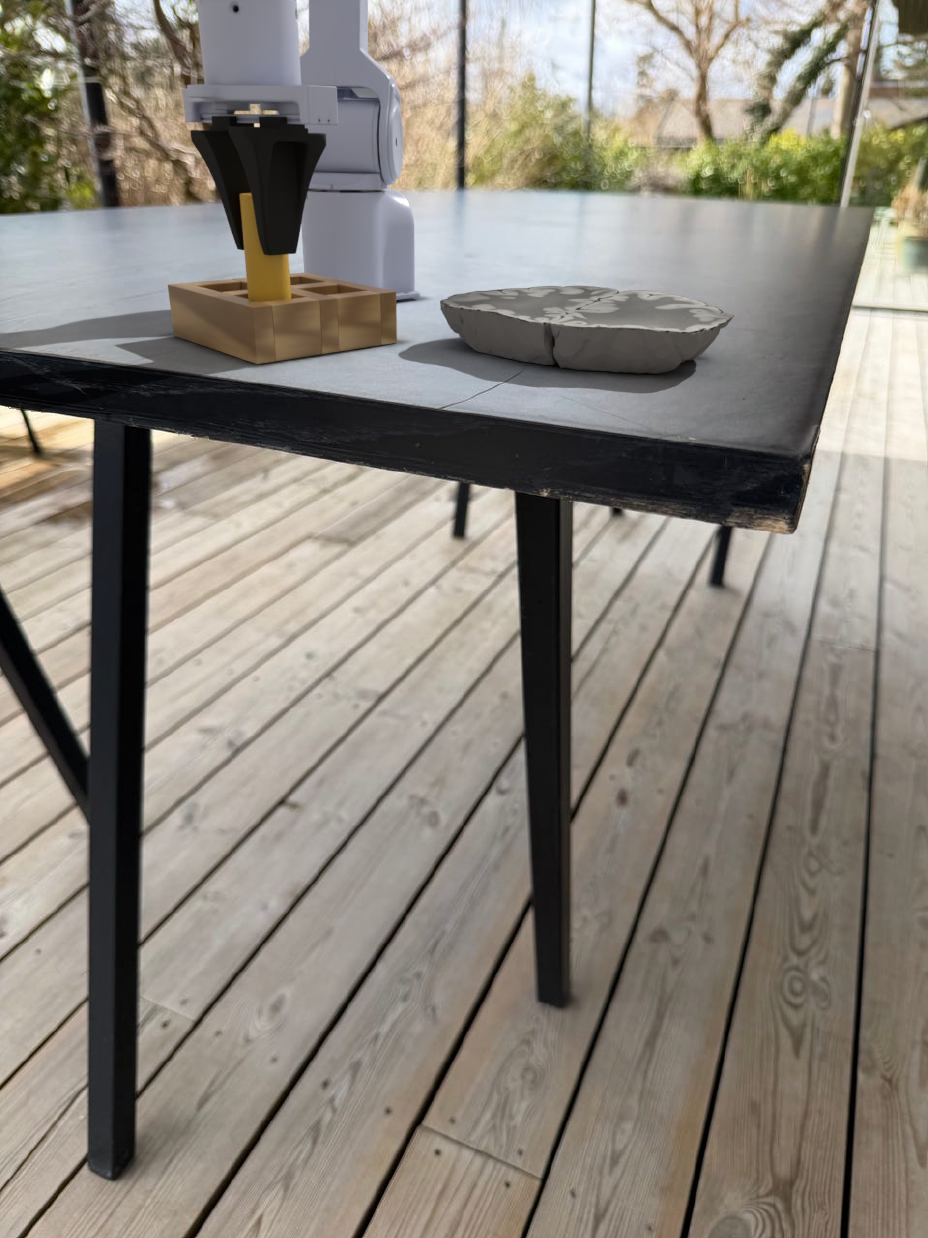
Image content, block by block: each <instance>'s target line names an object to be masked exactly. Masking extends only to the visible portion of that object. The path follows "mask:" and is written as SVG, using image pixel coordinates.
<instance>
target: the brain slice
mask: <svg viewBox="0 0 928 1238" xmlns="http://www.w3.org/2000/svg"><path fill="white" fill-rule="evenodd" d="M439 305H440V311H441V313H442V315H443V317H444V319H445V320H446V323H447V325H448V326H449V328H450V329H451V330H452V331H453V333H455V334H457V335H459V337H460V339H461V340H463V342H465V343H466V344H467V345H468V346H469V347H471V348H472V349H473V350H474V351H476V352H478V353H482V354H486V355H493V356H497V357H499V358H505V359H511V360H514V361H518V362H523V363H531V364H535V365H538V364H539V365H544V366H555V365H556V364H557V365H558V366H559V368H560V369H566V370H567V369H569V370H576V371H593V372H594V371H596V372H597V371H598V372H599V371H601V372H612V373H619V374H620V373H621V374H622V373H629V374H650V375H660V374H667V373H668V372H671V371H674V370H675V369H677V368H678V367H679V366H680V364H683V363H684V362H686V361H695V360H696V359H697V358H699V357H700V356H701V355H702V354H703V353H704V352H706V350H707V349H709V347H710V346H711V345H712V344H713V343H714V342H715V341H716V339H717V338H718V336H719V335H720V331H721V329H724V328H726V327H727V326H728V325H729V324H730V322H731V321H732V319H733V318H734V317H735V315H734V314H732V313H729V312H728V313H727V312H724V310H722V309H720V308H719V307H718V306H713V305H709V304H708V303H706V302H704V301H701V300H697V299H692V298H690V297H688V296H683V295H678V294H671V293H667V292H662V291H654V290H624V291H620V290H619V289H615V288H611V287H603V286H602V287H601V286H594V285H593V286H591V285H567V286H566V285H565V286H559V285H542V286H531V287H514V288H502V289H500V288H499V289H490V290H475V291H470V292H464V293H456V294H453V295H451V296H448V297H447V298H444V299H443V298H442V299H441V300H440V301H439Z"/></svg>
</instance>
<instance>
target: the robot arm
mask: <svg viewBox="0 0 928 1238" xmlns="http://www.w3.org/2000/svg"><path fill="white" fill-rule="evenodd" d="M195 2H196V10H197V20H198V21H197V22H198V30H199V31H198V32H199V40H200V41H199V42H200V50H201V51H200V52H201V60H202V72H203V81H204V82H203V84H199V83H198V84H197V83H196V84H187V85H186V87H187V88H182V89H181V90H182V92H181V93H182V100H183V111H184V119H185V123H198V124H199V123H205V124H211V125H209V130H208V129H204V130H203V129H190V140H191V142H192V144H193V145H194V147H195V148H196V150H197V152H198V153H199V155H200V156H201V159H202V160H203V162H204V163H205V165H206V167H207V170H208V171H209V174H210V175H211V178H212V180H213V183H214V185H215V187H216V189H217V192H218V195H219V198H220V201H221V203H222V206H223V210H224V213H225V216H226V219H227V222H228V225H229V229H230V232H231V235H232V237H233V241H234V244H235V246H236V249H237V250H238V251H244V242H243V230H242V219H241V207H240V194H242V193H251V195H252V200H253V206H254V212H255V219H256V225H257V231H258V236H259V240H260V244H261V247H262V250H263V253H264V255H284V254H289V255H296V254H297V250H298V245H299V240H300V233H301V244H302V260H303V273H309V274H314V275H319V276H324V277H329V278H334V279H338V280H343V281H348V282H353V283H358V284H363V285H368V286H372V287H377V288H382V289H387V290H392V291H396V301H398V300H399V301H400V300H407V299H416V298H417V299H418V298H420V297H421V292H420V291H419V290H418V291H417V290H415V288H416V287H415V286H416V283H415V282H416V281H415V272H416V271H415V268H416V267H415V220H414V214H413V210H412V208H411V205H410V203H409V201H408V199H407V197H405V196H404V195H403V193H401V192H400V191H398V190H395V189H391V188H390V186H391V185H394V184H395V183H396V181H397V179H398V178H399V177H400V176H401V173H402V170H403V162H404V126H403V117H402V95H401V92H400V89H399V86H398V84H397V82H396V79H395V78H394V76H393V75H391V73H390V72H389V71H388V70H386V69H385V68H384V67H383V66H382V65H381V64H380V63H379V62H378V61H376V60H375V59H374V58H373V57H372V56H371V55H370V54H369V52H368V50H369V48H368V47H369V37H368V36H369V0H308V48H307V49H306V51H305V52H304V53H303V54H302V55H301V53H300V33H299V20H298V16H299V15H298V3H297V2H298V1H297V0H195ZM252 105H259V108H260V110H261V111H270V112H271V111H272V112H273V111H274V112H275V113H274V114H273V113H267V114H266V113H235V112H250V111H251V106H252ZM255 124H259V125H258V126H255Z"/></svg>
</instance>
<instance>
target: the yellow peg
mask: <svg viewBox="0 0 928 1238" xmlns="http://www.w3.org/2000/svg"><path fill="white" fill-rule="evenodd" d="M240 207H241V219H242V230H243V242H244V250H243V251H244V253H243V254H244V264H245V274H246V275H245V276H246V277H245V278H247V288H248V299H249V300H253V301H257V302H266V301H276V300H285V299H291V285H290V274H291V271H290V258H289V255H290V254H284V255H264V253H263V250H262V247H261V244H260V240H259V236H258V231H257V225H256V219H255V212H254V206H253V200H252V195H251V193H242V194H240Z"/></svg>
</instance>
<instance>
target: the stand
mask: <svg viewBox="0 0 928 1238" xmlns="http://www.w3.org/2000/svg"><path fill="white" fill-rule="evenodd" d="M290 285H291V299H285V300H276V301H266V302H257V301H253V300H249V299H248V288H247V277H239V278H238V277H237V278H227V279H218V280H216V279H215V280H207V281H194V282H182V283H172V284H171V283H169V284H167V289H168V299H169V306H170V307H169V308H170V314H171V321H172V330H173V336H174V337H176V338H180V339H183V340H186V341H189V342H191V343H195V344H198V345H200V346H203V347H205V348H209V349H210V350H215V351H217V352H220V353H224V354H227V355H229V356H232V357H235V358H239V359H240V360H244V361H247V362H250V363H253V364H256V365H261V364H267V363H275V362H279V361H287V360H292V359H293V360H294V359H299V358H300V359H301V358H308V357H312V356H320V355H327V354H332V353H338V352H345V351H351V350H359V349H364V348H371V347H378V346H385V345H392V344H397V343H398V327H397V323H398V321H397V316H398V315H397V300H396V291H392V290H387V289H382V288H377V287H372V286H368V285H363V284H358V283H353V282H348V281H343V280H338V279H334V278H329V277H324V276H319V275H314V274H309V273H304V272H295V273H290Z"/></svg>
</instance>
